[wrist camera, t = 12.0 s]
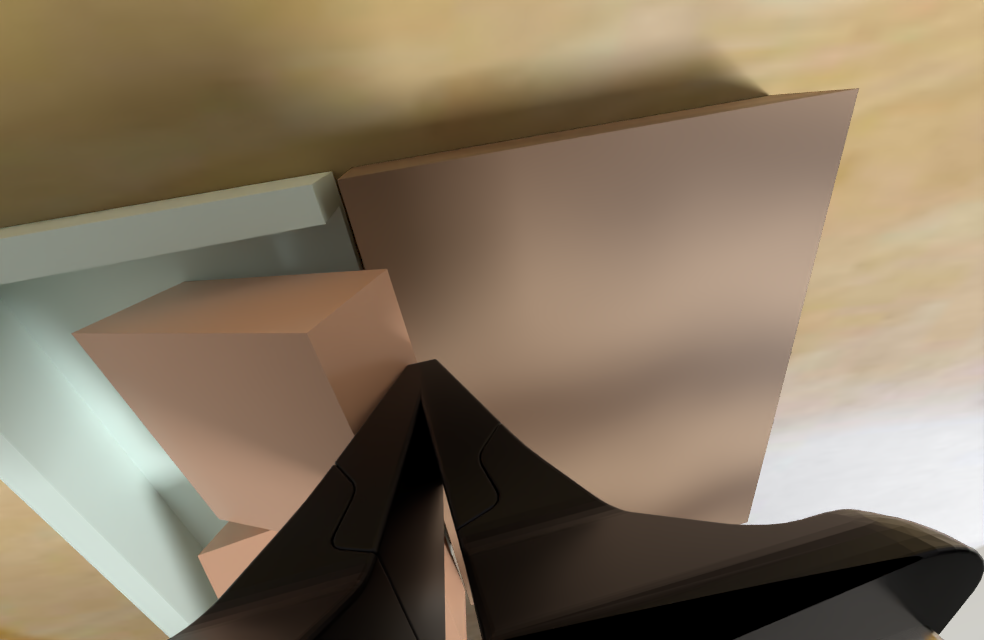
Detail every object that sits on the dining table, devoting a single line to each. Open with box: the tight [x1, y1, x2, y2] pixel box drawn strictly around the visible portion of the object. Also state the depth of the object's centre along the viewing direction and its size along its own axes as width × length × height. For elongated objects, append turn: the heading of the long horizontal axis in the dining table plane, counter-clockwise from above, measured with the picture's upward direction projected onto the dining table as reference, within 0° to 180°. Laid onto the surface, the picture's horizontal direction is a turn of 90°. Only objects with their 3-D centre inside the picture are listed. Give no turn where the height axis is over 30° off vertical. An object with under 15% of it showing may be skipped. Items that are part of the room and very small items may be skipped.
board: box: [337, 88, 859, 605], centre depth 13 cm, size 16×12×2 cm
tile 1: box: [71, 269, 417, 532], centre depth 9 cm, size 6×6×2 cm
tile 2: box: [198, 521, 467, 640], centre depth 13 cm, size 6×6×2 cm
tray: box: [0, 171, 452, 638], centre depth 12 cm, size 16×9×2 cm, turn 8°
